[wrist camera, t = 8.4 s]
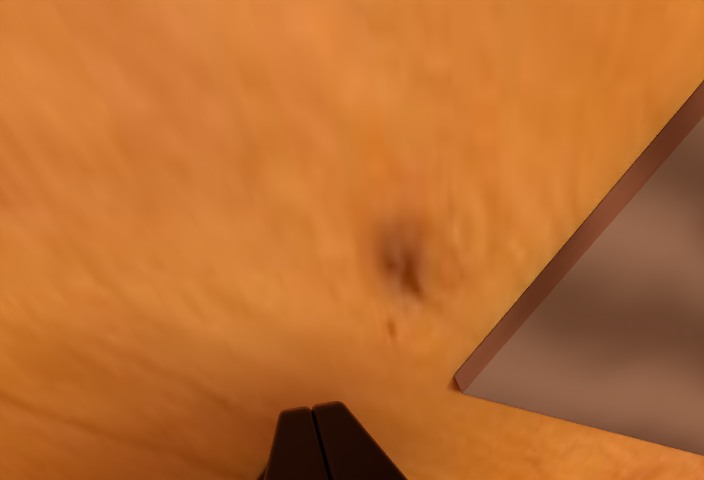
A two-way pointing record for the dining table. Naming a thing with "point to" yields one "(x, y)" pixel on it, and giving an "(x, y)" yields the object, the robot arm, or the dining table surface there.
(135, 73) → the dining table surface
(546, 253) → the dining table surface
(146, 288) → the dining table surface
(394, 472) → the robot arm
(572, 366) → the tuner board
